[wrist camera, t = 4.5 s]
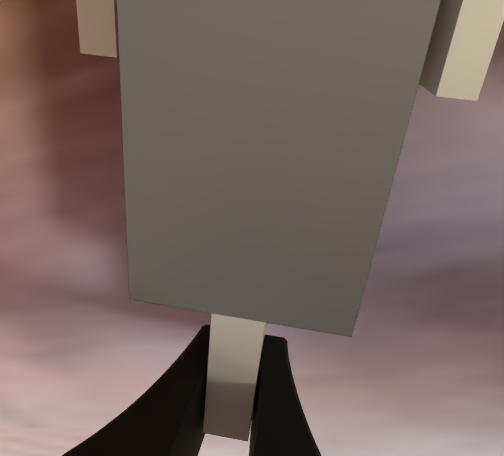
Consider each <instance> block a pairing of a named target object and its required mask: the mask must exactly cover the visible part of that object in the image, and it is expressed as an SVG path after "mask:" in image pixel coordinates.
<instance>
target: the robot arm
mask: <svg viewBox="0 0 504 456" xmlns="http://www.w3.org/2000/svg"><path fill="white" fill-rule="evenodd" d="M210 327H211V325H204V326H202V327H201V329H200V331H199V332H198V333H197V335H196V336H195V338H194V339H193V340H192V342H191V343H190V344H189V345H188V347H187V348H186V349H185V350H184V351H183V353H182V354H181V355H180V356H179V357H178V358H177V360H176V361H175V362H174V363H173V364H172V365H171V366H170V367H169V369H168V370H167V371H166V372H165V373H164V374H163V375H162V376H161V377H160V378H159V379H158V380H157V381H156V382H155V383H154V384H153V385H152V386H151V387H150V388H149V389H148V390H147V391H146V392H145V393H144V394H143V395H142V396H141V397H140V398H138V399H137V400H136V401H135V402H134V403H133V404H132V405H130V406H129V407H128V408H127V409H126V410H125V411H123V412H122V413H121V414H120V415H119V416H117V417H116V418H115V419H113V420H112V421H111V422H110V423H108V424H107V425H106V426H104V427H103V428H102V429H100V430H99V431H98V432H96V433H95V434H94V435H92V436H91V437H89V438H88V439H86V440H85V441H83V442H82V443H80V444H79V445H77V446H76V447H74V448H73V449H71V450H70V451H68V452H67V453H65V454H64V455H62V456H198V453H199V450H200V447H201V444H202V441H203V438H204V435H205V433H203V428H204V414H205V399H206V385H207V371H208V356H209V342H210ZM249 456H321V454H320V452H319V449H318V447H317V445H316V443H315V440H314V438H313V436H312V433H311V431H310V428H309V426H308V423H307V420H306V418H305V415H304V412H303V409H302V406H301V403H300V400H299V397H298V394H297V390H296V387H295V383H294V380H293V376H292V371H291V367H290V362H289V356H288V347H287V340H286V339H285V338H282V337H276V336H271V335H265V336H264V341H263V347H262V352H261V359H260V366H259V373H258V380H257V387H256V393H255V400H254V407H253V413H252V421H251V435H250V450H249Z"/></svg>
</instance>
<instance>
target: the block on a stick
mask: <svg viewBox="0 0 504 456" xmlns="http://www.w3.org/2000/svg"><path fill="white" fill-rule="evenodd" d="M440 1H441V0H117V11H118V36H119V61H120V85H121V110H122V135H123V160H124V184H125V209H126V234H127V258H128V283H129V299H130V300H136V301H141V302H147V303H153V304H159V305H165V306H171V307H177V308H183V309H189V310H195V311H200V312H206V313H211V327H210V342H209V356H208V371H207V385H206V399H205V414H204V428H203V433H207V434H212V435H217V436H222V437H228V438H233V439H238V440H243V441H248V437H249V431H250V425H251V419H252V413H253V407H254V400H255V393H256V387H257V380H258V373H259V366H260V359H261V352H262V347H263V341H264V336H265V332H266V325H267V323H271V324H277V325H283V326H289V327H295V328H301V329H307V330H313V331H318V332H324V333H330V334H336V335H342V336H348V337H351V336H352V333H353V329H354V325H355V321H356V318H357V314H358V310H359V306H360V303H361V299H362V295H363V291H364V287H365V284H366V280H367V276H368V272H369V269H370V265H371V261H372V257H373V254H374V250H375V246H376V242H377V238H378V235H379V231H380V227H381V223H382V220H383V216H384V212H385V208H386V205H387V201H388V197H389V193H390V189H391V186H392V182H393V178H394V174H395V171H396V167H397V163H398V159H399V156H400V152H401V148H402V144H403V141H404V137H405V133H406V129H407V125H408V122H409V118H410V114H411V110H412V107H413V103H414V99H415V95H416V92H417V88H418V84H419V80H420V76H421V73H422V69H423V65H424V61H425V58H426V54H427V50H428V46H429V43H430V39H431V35H432V31H433V28H434V24H435V20H436V16H437V12H438V9H439V5H440Z"/></svg>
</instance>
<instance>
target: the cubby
mask: <svg viewBox="0 0 504 456" xmlns="http://www.w3.org/2000/svg"><path fill="white" fill-rule="evenodd" d="M76 5H77V17H78V30H79V42H80V53H82V54H90V55H99V56H107V57H115V58H117V57H119V36H118V11H117V0H76ZM503 21H504V0H441V1H440V5H439V9H438V12H437V16H436V20H435V24H434V28H433V31H432V35H431V39H430V43H429V46H428V50H427V54H426V58H425V61H424V65H423V69H422V73H421V76H420V80H419V84H421V85H422V86H423V87H425V88H426V89H427V90H429V91H430V92H431V93H432V94H434V95H435V96H439V97H447V98H456V99H464V100H472V101H477V100H478V97H479V94H480V91H481V88H482V85H483V82H484V79H485V76H486V73H487V70H488V67H489V64H490V61H491V58H492V55H493V52H494V49H495V45H496V42H497V39H498V36H499V33H500V30H501V27H502V24H503Z"/></svg>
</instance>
